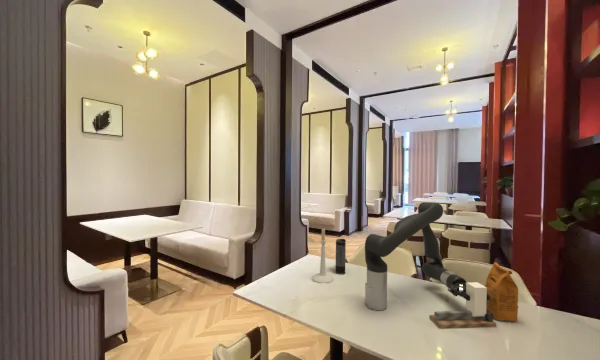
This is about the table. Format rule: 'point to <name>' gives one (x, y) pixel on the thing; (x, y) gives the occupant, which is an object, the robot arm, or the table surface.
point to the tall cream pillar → (476, 298)
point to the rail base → (461, 319)
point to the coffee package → (502, 294)
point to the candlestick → (322, 265)
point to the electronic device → (340, 256)
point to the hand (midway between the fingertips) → (479, 298)
